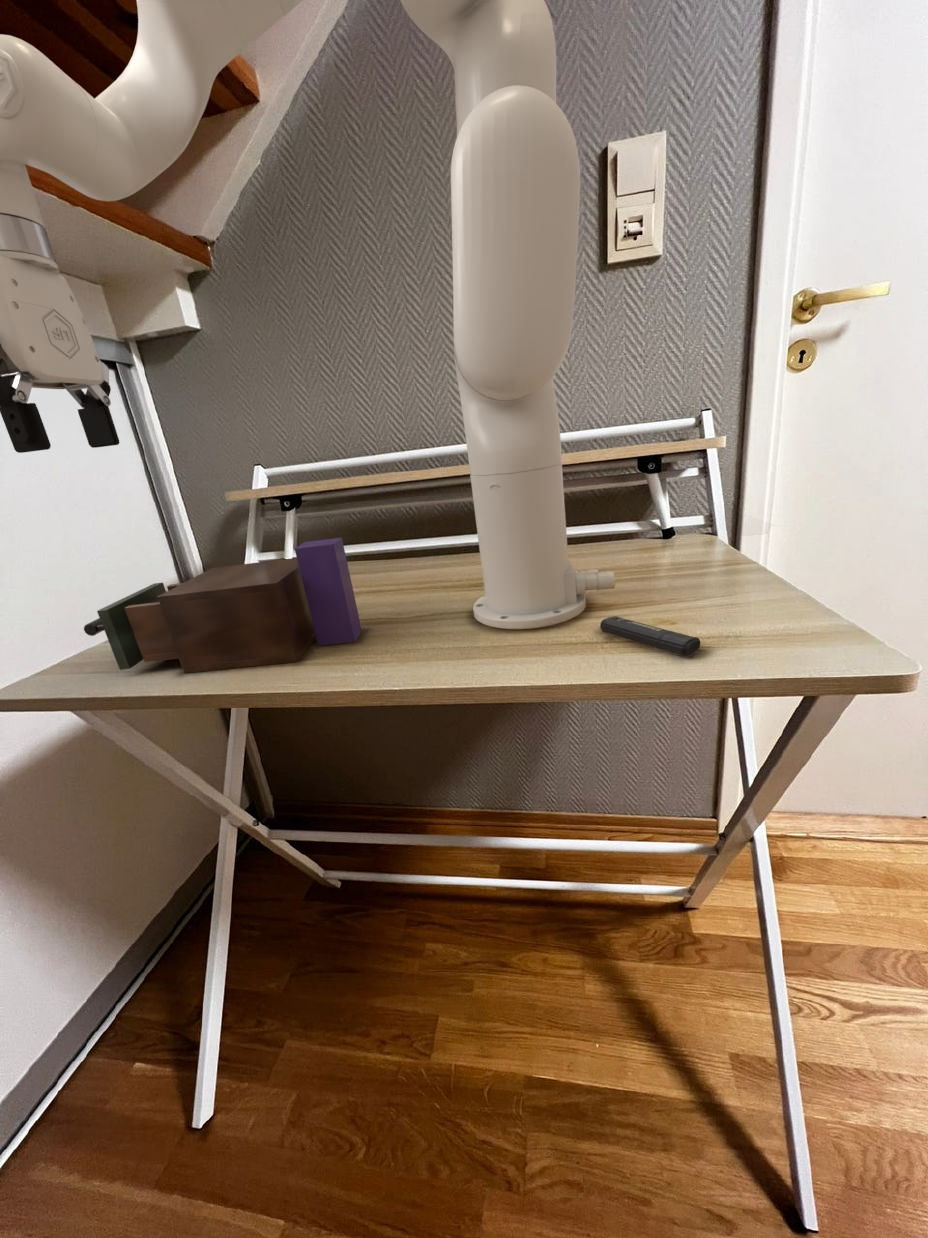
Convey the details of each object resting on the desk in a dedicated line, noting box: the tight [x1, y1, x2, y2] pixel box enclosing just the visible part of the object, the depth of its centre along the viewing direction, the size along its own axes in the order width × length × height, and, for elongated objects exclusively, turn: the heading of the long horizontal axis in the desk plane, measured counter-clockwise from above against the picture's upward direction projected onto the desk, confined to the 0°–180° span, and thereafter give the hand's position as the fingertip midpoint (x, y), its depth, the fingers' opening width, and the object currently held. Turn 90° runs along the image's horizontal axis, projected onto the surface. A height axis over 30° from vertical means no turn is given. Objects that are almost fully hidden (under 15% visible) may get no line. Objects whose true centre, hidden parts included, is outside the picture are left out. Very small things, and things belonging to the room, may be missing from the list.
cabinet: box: [158, 557, 317, 674], centre depth 60 cm, size 13×11×9 cm
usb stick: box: [599, 615, 701, 658], centre depth 48 cm, size 10×3×2 cm, turn 35°
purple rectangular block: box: [294, 537, 363, 647], centre depth 58 cm, size 4×3×11 cm
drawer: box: [83, 582, 184, 671], centre depth 61 cm, size 15×10×7 cm, turn 87°
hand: (72, 448), depth 55 cm, fingers open, 9 cm apart
